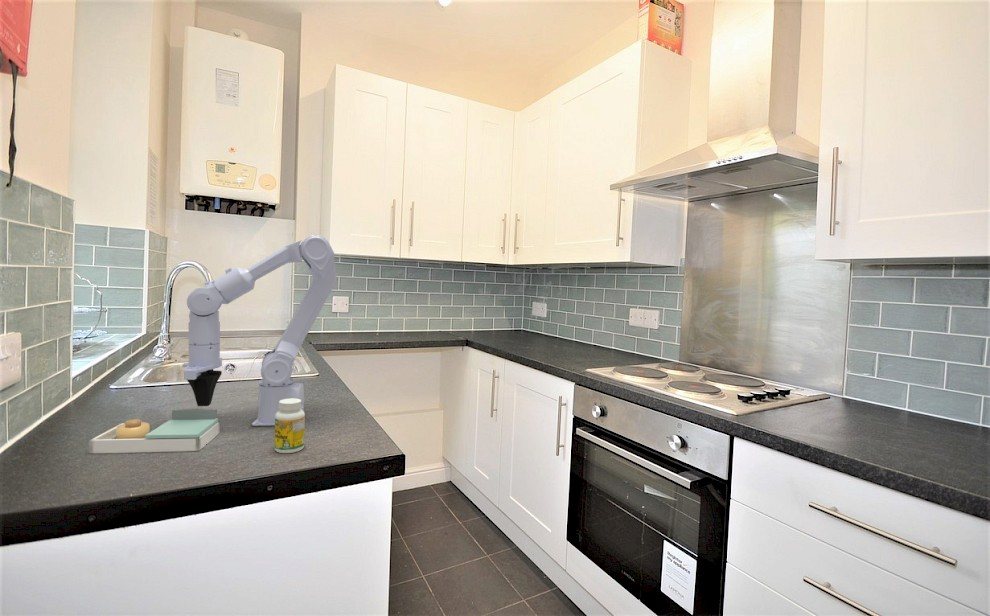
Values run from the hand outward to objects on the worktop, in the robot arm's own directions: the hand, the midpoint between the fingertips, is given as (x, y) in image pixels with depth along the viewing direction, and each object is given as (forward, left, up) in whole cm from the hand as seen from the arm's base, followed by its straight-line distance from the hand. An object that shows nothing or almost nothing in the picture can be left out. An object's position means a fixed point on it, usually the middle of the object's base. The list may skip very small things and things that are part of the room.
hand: (204, 405), depth 100 cm
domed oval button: (+9, +10, -5) cm, 14 cm away
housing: (+4, +10, -5) cm, 12 cm away
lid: (0, +9, -2) cm, 10 cm away
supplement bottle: (-21, +15, -5) cm, 26 cm away
